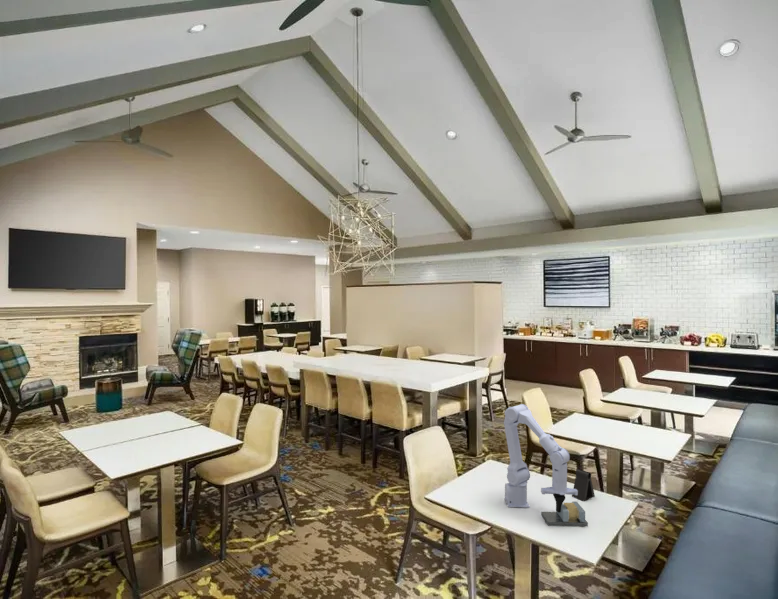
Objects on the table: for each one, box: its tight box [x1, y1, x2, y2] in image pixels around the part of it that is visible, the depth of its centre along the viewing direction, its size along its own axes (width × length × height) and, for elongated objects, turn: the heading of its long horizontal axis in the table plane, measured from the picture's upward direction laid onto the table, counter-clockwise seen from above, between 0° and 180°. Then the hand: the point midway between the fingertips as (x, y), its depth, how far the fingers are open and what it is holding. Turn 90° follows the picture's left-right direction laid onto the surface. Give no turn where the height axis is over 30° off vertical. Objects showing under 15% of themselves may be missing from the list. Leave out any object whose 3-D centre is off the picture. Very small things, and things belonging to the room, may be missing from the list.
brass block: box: [563, 502, 577, 520], centre depth 189 cm, size 4×4×5 cm
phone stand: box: [571, 468, 596, 502], centre depth 211 cm, size 9×6×12 cm, turn 125°
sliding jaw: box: [555, 502, 569, 522], centre depth 189 cm, size 2×9×4 cm, turn 178°
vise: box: [540, 501, 589, 527], centre depth 189 cm, size 16×9×6 cm, turn 88°
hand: (558, 511), depth 189 cm, fingers closed, pressing on sliding jaw
